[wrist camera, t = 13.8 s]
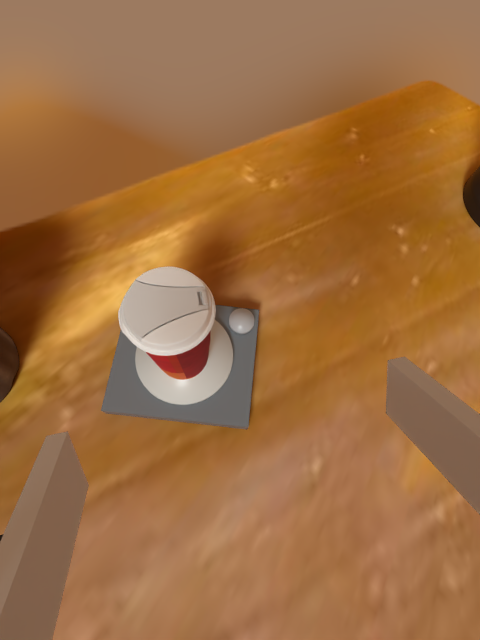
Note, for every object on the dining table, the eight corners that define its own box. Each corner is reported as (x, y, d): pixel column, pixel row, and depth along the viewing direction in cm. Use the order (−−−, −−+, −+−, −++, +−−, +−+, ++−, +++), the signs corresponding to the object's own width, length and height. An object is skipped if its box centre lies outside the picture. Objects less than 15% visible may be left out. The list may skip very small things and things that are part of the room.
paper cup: (211, 319, 44) (206, 254, 31) (223, 382, 41) (223, 340, 28) (144, 330, 43) (110, 269, 30) (152, 396, 40) (118, 359, 27)
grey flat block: (257, 316, 47) (260, 306, 44) (247, 429, 42) (248, 426, 39) (133, 302, 47) (127, 291, 44) (106, 413, 42) (98, 409, 39)
